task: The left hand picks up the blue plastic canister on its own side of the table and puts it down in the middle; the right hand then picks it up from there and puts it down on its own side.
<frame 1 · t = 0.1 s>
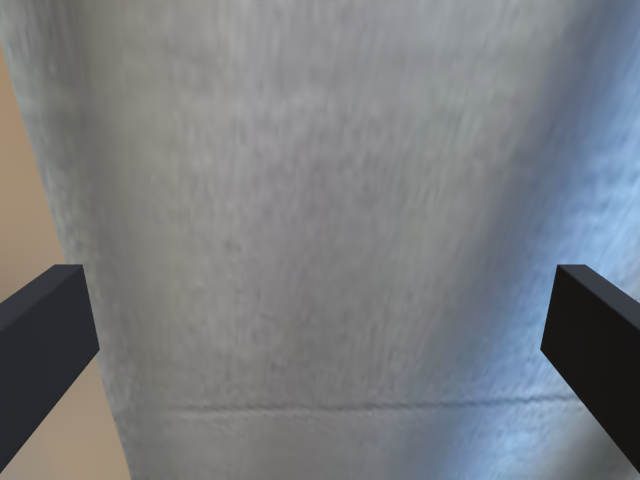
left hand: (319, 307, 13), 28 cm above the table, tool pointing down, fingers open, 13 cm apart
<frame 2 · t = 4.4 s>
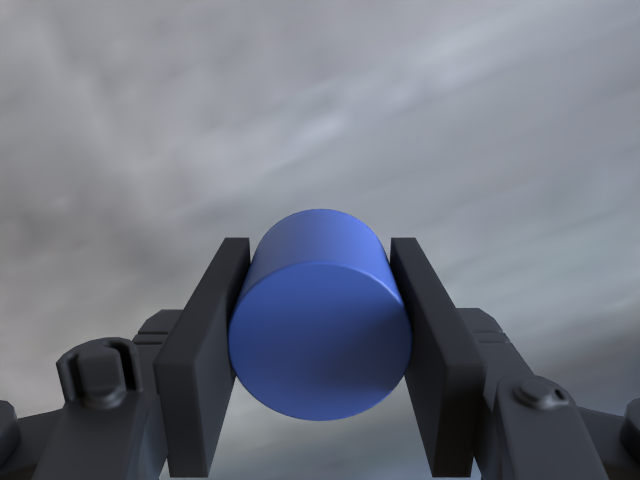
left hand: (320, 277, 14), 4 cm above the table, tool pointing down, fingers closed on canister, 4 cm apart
canister: (320, 273, 15), point 4 cm above the table, touching left hand
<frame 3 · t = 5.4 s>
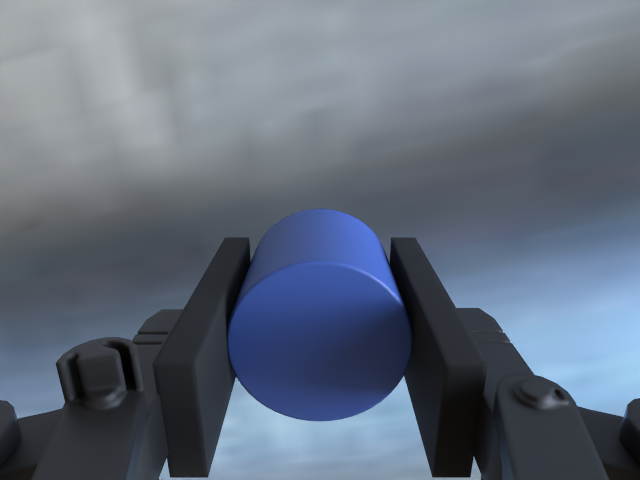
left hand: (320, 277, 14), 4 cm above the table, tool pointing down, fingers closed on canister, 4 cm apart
canister: (320, 273, 15), point 4 cm above the table, touching left hand
when the left hand's fingers open (1 cm above the table, at t = 6.4 s): canister stays where it is, on the table.
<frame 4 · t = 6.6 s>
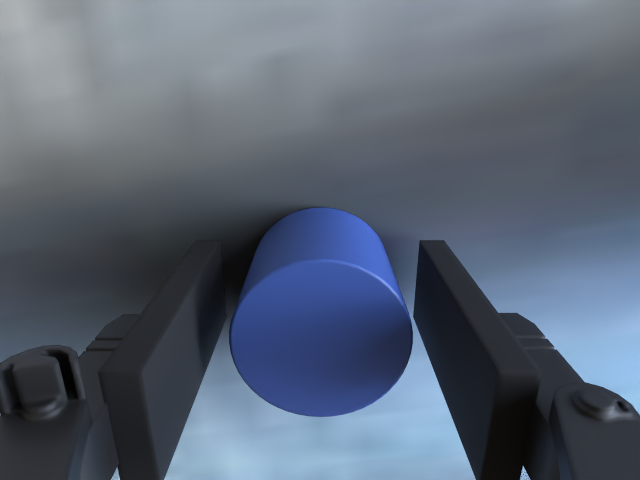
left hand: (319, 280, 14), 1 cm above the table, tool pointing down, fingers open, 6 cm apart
canister: (320, 271, 15), on the table
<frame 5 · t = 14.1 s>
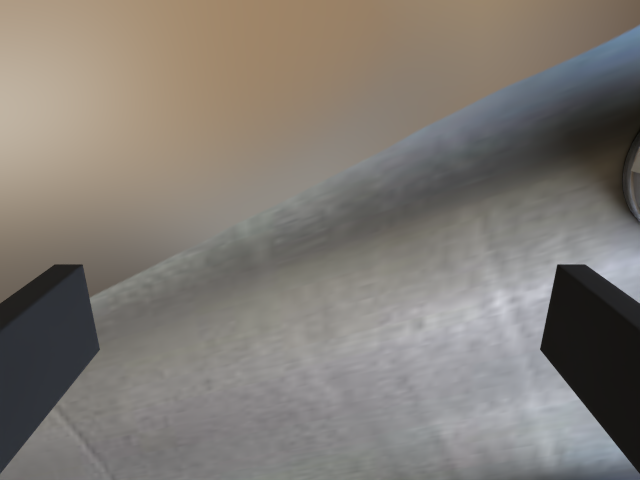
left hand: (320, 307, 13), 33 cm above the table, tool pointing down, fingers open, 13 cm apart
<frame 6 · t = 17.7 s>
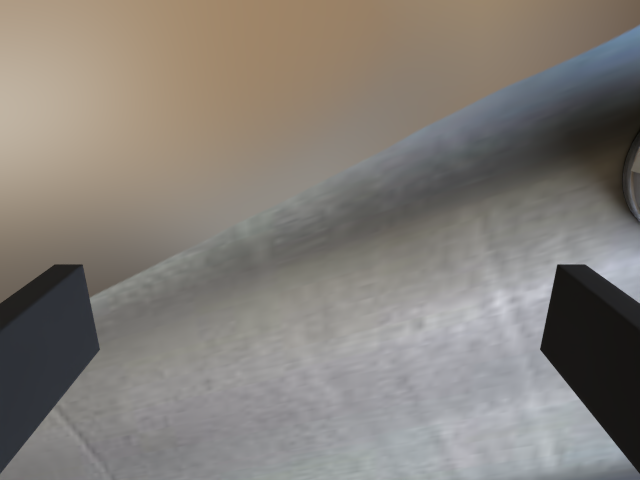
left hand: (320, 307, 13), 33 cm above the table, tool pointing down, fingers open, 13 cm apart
when the right hand's fingers open (2 cm above the table, at t = 21.6 s): canister stays where it is, on the table.
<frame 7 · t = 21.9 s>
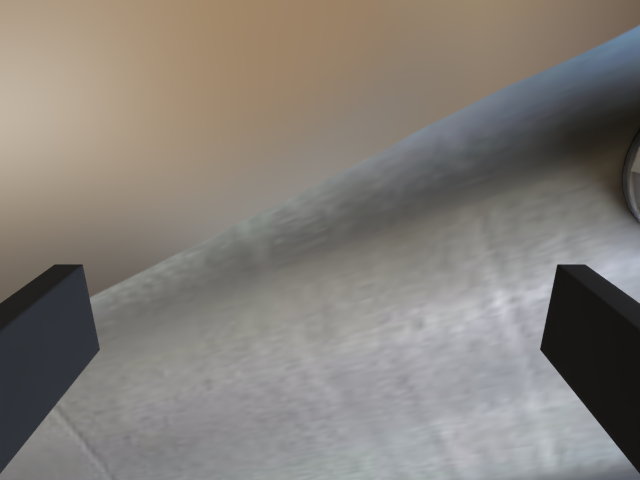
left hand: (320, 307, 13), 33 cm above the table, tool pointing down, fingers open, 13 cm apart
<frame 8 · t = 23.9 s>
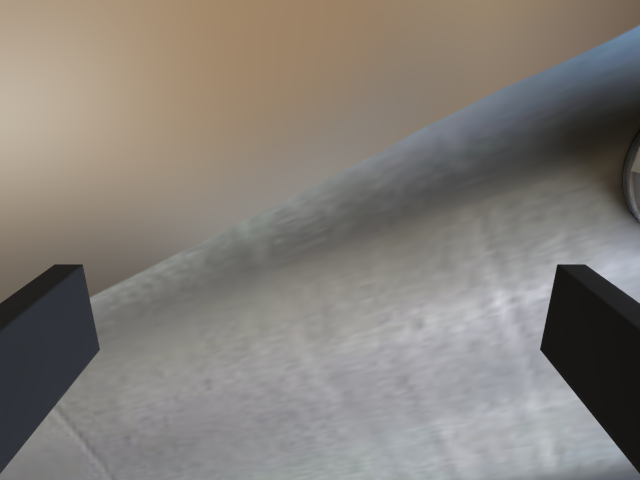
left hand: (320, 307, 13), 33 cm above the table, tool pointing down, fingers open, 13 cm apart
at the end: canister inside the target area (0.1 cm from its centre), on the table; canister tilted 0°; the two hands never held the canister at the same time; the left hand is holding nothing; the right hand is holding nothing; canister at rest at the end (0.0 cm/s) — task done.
